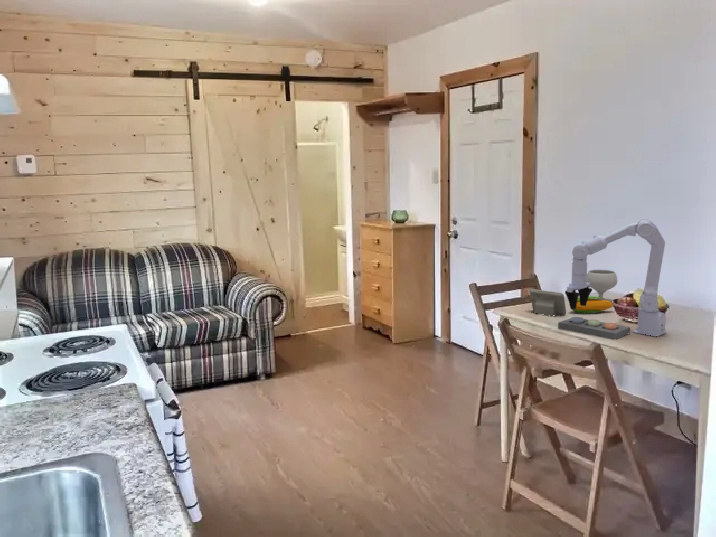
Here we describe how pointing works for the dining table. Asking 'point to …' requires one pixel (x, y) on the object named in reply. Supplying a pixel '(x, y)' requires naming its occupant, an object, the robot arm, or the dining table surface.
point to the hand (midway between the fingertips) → (578, 307)
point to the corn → (593, 305)
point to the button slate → (577, 320)
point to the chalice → (602, 281)
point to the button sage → (593, 323)
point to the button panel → (594, 329)
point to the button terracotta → (610, 326)
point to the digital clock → (547, 302)
